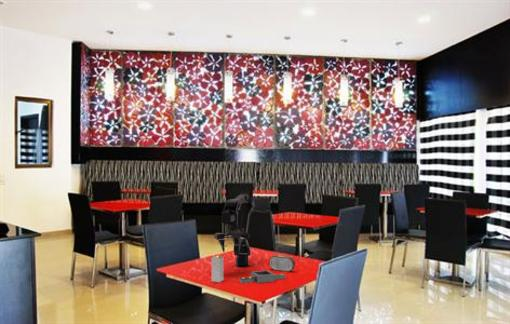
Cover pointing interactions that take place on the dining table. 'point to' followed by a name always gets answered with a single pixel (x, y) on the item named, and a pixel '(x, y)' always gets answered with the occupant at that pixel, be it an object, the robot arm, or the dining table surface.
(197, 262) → the dining table surface
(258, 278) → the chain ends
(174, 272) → the dining table surface
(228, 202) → the robot arm
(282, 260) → the tin
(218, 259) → the grey upright column
